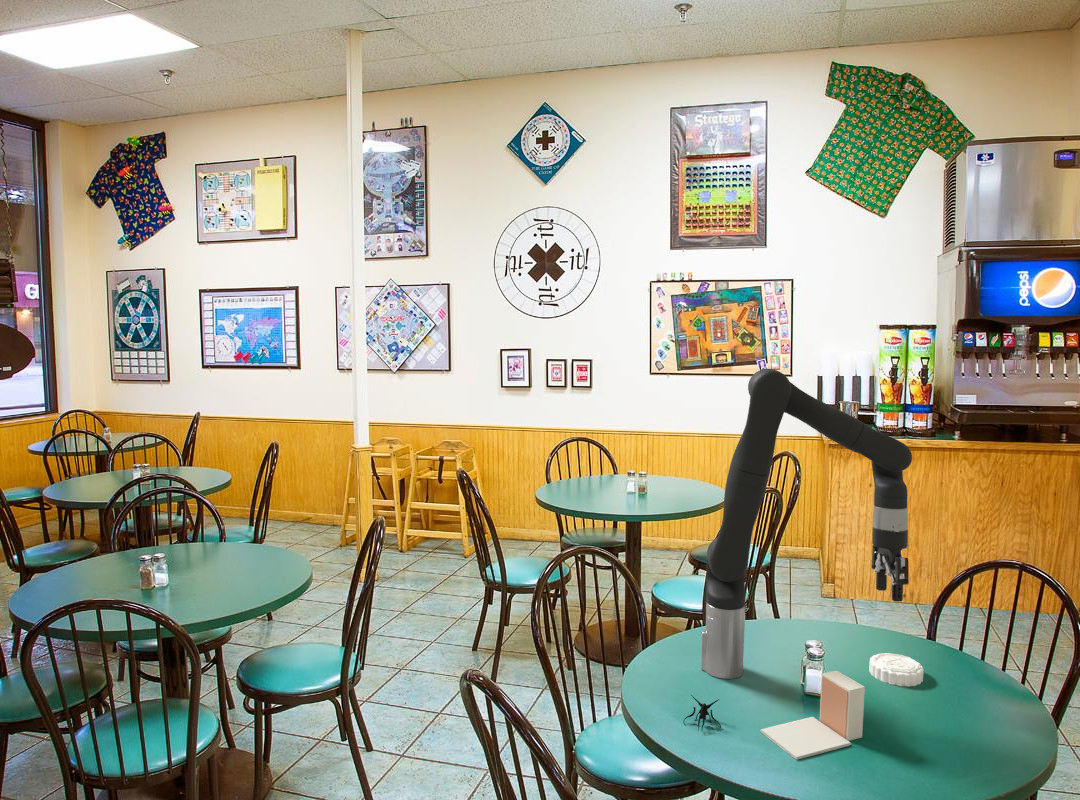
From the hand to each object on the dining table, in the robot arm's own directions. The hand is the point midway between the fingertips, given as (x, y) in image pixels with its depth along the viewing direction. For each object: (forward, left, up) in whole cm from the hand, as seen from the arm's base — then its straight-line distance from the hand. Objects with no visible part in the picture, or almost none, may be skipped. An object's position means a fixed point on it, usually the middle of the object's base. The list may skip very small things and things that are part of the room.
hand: (889, 595), depth 180 cm
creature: (-26, -41, -23) cm, 54 cm away
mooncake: (+1, +9, -23) cm, 25 cm away
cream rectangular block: (-2, -25, -23) cm, 34 cm away
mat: (-7, -33, -23) cm, 41 cm away
